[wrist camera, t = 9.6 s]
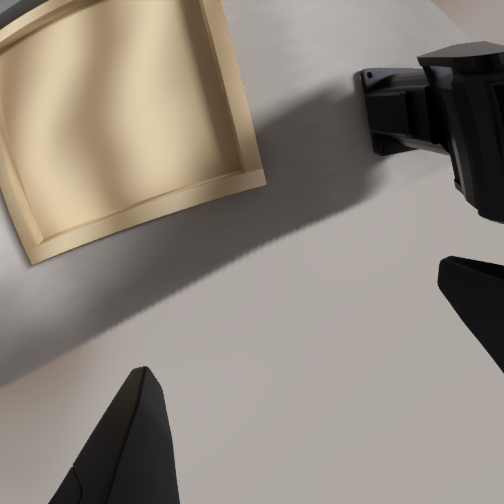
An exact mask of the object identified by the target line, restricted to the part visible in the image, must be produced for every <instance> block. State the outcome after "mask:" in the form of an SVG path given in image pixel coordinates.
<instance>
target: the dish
mask: <svg viewBox="0 0 504 504" xmlns="http://www.w3.org/2000/svg"><path fill="white" fill-rule="evenodd" d="M264 185H267V183H266V179H265V175H264V170H263V166H262V162H261V157H260V153H259V149H258V144H257V140H256V136H255V132H254V127H253V123H252V119H251V115H250V111H249V107H248V103H247V99H246V95H245V91H244V87H243V83H242V79H241V75H240V71H239V67H238V63H237V59H236V56H235V52H234V48H233V44H232V40H231V37H230V33H229V29H228V26H227V22H226V18H225V15H224V11H223V7H222V4H221V0H49V1H47V2H45V3H43V4H41V5H40V6H38V7H36V8H34V9H33V10H31V11H29V12H27V13H26V14H24V15H22V16H21V17H19V18H18V19H16V20H14V21H13V22H11V23H10V24H8V25H7V26H5V27H4V28H2V29H1V30H0V187H1V190H2V193H3V196H4V199H5V202H6V205H7V207H8V210H9V213H10V215H11V218H12V220H13V223H14V225H15V228H16V230H17V233H18V235H19V237H20V240H21V242H22V244H23V246H24V249H25V251H26V253H27V255H28V257H29V259H30V261H31V264H32V265H33V264H35V263H38V262H40V261H43V260H45V259H47V258H50V257H52V256H55V255H57V254H60V253H62V252H65V251H67V250H70V249H72V248H75V247H78V246H80V245H83V244H85V243H88V242H91V241H93V240H96V239H99V238H101V237H104V236H107V235H110V234H112V233H115V232H118V231H121V230H124V229H126V228H129V227H132V226H135V225H138V224H141V223H144V222H147V221H150V220H152V219H155V218H158V217H161V216H164V215H168V214H171V213H174V212H177V211H180V210H183V209H186V208H189V207H192V206H196V205H199V204H202V203H205V202H209V201H212V200H215V199H219V198H222V197H225V196H229V195H232V194H235V193H239V192H242V191H246V190H249V189H253V188H257V187H260V186H264Z"/></svg>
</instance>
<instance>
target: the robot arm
mask: <svg viewBox="0 0 504 504" xmlns="http://www.w3.org/2000/svg"><path fill="white" fill-rule="evenodd" d="M417 59H418V62H419V64H420V66H422V67H423V69H412V68H368V69H364V70H362V71H361V78H362V83H363V88H364V93H365V102H366V108H367V114H368V120H369V126H370V130H371V134H372V141H373V148H374V152H375V153H376V154H377V155H380V156H384V155H389V154H394V153H399V152H405V151H410V150H415V149H423V150H427V151H432V152H436V153H440V154H445V155H449V156H450V157H451V161H452V166H453V170H454V175H455V179H454V183H455V187H456V188H457V189H458V190H459V191H460V192H461V193H462V194H463V195H464V197H465V199H466V201H467V202H468V203H470V204H471V205H472V206H473V207H475V208H476V209H478V214H479V215H480V216H481V217H483V218H485V219H488V220H490V221H494V222H497V223H501V224H504V46H502V45H498V44H494V43H490V42H485V41H482V42H472V43H464V44H457V45H453V46H450V47H447V48H443V49H440V50H437V51H434V52H431V53H427V54H424V55H421V56H418V57H417ZM367 73H368V74H369V75H370V76H369V78H368V77H367ZM380 146H381V147H382V150H381V151H380V150H379V148H380ZM438 287H439V289H440V290H441V292H442V293H443V294H444V296H445V297H446V298H447V300H448V301H449V303H450V304H451V305H452V307H453V308H454V310H455V311H456V313H457V314H458V315H459V317H460V318H461V320H462V321H463V322H464V323H465V325H466V326H467V327H468V328H469V330H470V331H471V332H472V333H473V334H474V336H475V337H476V338H477V339H478V341H479V342H480V343H481V344H482V346H483V347H484V348H485V349H486V351H487V352H488V353H489V355H490V356H491V357H492V358H493V360H494V361H495V362H496V364H497V365H498V366H499V368H500V369H501V370H502V372H503V373H504V266H503V265H498V264H493V263H487V262H483V261H477V260H471V259H466V258H461V257H455V256H448V257H446V258H444V259H442V260H441V261H440V264H439V272H438ZM48 504H180V500H179V493H178V486H177V478H176V469H175V460H174V451H173V442H172V436H171V431H170V426H169V421H168V416H167V411H166V405H165V400H164V394H163V390H162V387H161V386H160V384H159V382H158V381H157V379H156V378H155V376H154V375H153V373H152V372H151V370H150V369H149V368H148V367H146V366H143V367H139V368H135V369H133V370H132V371H131V372H130V374H129V376H128V377H127V379H126V380H125V382H124V384H123V385H122V386H121V388H120V390H119V391H118V393H117V394H116V396H115V397H114V399H113V400H112V402H111V404H110V405H109V407H108V408H107V410H106V412H105V413H104V415H103V417H102V418H101V419H100V421H99V423H98V424H97V426H96V428H95V429H94V431H93V432H92V434H91V435H90V437H89V439H88V440H87V442H86V444H85V445H84V447H83V449H82V450H81V452H80V454H79V455H78V457H77V459H76V460H75V462H74V463H73V467H71V468H70V470H69V472H68V473H67V475H66V477H65V478H64V480H63V482H62V483H61V485H60V487H59V488H58V490H57V492H56V493H55V494H54V496H53V497H52V499H51V500H50V502H49V503H48Z"/></svg>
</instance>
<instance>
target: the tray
mask: <svg viewBox="0 0 504 504" xmlns="http://www.w3.org/2000/svg"><path fill="white" fill-rule="evenodd" d="M47 1H49V0H0V30H1V29H2V28H4V27H5V26H7V25H8V24H10V23H11V22H13V21H14V20H16V19H18V18H19V17H21V16H22V15H24V14H26V13H27V12H29V11H31V10H33V9H34V8H36V7H38V6H40V5H41V4H43V3H45V2H47Z"/></svg>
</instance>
